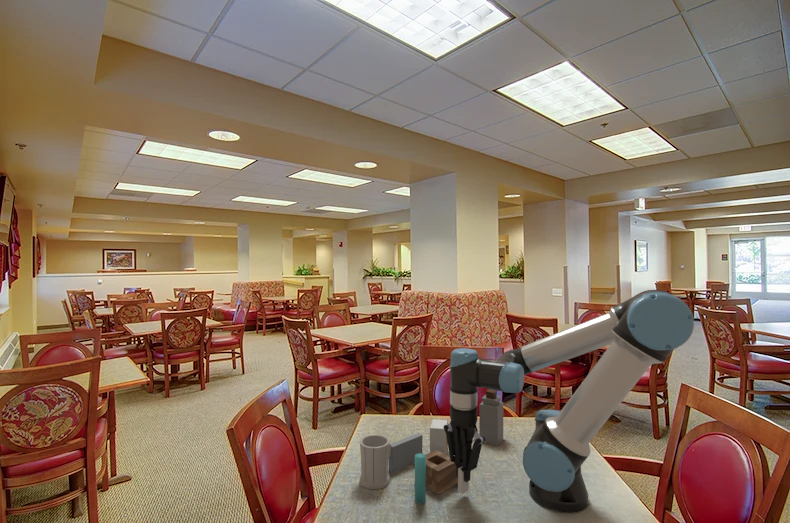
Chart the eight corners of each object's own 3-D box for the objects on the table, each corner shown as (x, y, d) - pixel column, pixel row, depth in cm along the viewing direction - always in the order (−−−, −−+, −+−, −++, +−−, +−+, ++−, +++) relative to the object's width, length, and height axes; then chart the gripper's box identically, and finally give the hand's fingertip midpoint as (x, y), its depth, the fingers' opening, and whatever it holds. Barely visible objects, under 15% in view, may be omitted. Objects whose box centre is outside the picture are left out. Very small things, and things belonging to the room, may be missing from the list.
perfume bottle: (503, 438, 145) (503, 390, 145) (497, 445, 139) (497, 395, 140) (485, 434, 149) (485, 387, 149) (479, 441, 143) (479, 391, 143)
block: (458, 482, 115) (458, 460, 116) (437, 494, 110) (437, 471, 110) (436, 470, 122) (436, 449, 122) (415, 481, 116) (415, 459, 116)
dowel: (428, 500, 107) (428, 456, 107) (420, 504, 105) (420, 459, 105) (420, 495, 109) (420, 452, 109) (412, 499, 107) (412, 455, 107)
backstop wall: (422, 459, 130) (422, 435, 130) (392, 473, 121) (392, 447, 121) (418, 457, 131) (418, 433, 131) (388, 470, 122) (388, 444, 123)
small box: (446, 461, 128) (446, 429, 128) (429, 459, 129) (429, 427, 129) (448, 450, 136) (448, 419, 136) (432, 448, 137) (432, 418, 137)
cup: (362, 470, 122) (362, 432, 123) (391, 471, 122) (391, 432, 122) (357, 489, 112) (357, 447, 112) (389, 490, 112) (389, 448, 112)
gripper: (491, 409, 106) (491, 496, 106) (454, 396, 116) (453, 476, 116) (474, 415, 101) (473, 507, 101) (437, 402, 111) (436, 486, 111)
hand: (463, 491), depth 108 cm, fingers closed
